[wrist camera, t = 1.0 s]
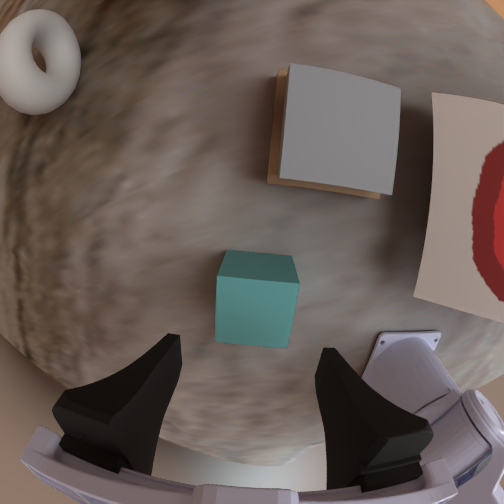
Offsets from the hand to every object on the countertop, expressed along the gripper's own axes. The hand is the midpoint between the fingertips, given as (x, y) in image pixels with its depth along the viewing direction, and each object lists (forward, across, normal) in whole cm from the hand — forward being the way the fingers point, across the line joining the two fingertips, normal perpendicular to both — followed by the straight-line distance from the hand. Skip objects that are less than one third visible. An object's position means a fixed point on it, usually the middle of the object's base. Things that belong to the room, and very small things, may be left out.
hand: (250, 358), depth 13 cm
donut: (+10, +18, -18) cm, 27 cm away
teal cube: (+10, 0, 0) cm, 10 cm away
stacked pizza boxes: (+10, -26, -10) cm, 30 cm away
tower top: (+8, -4, -12) cm, 15 cm away
